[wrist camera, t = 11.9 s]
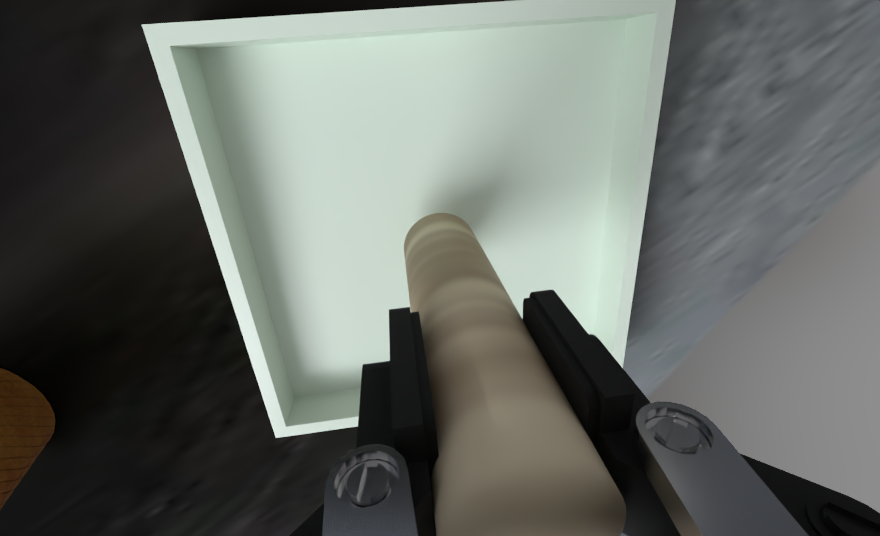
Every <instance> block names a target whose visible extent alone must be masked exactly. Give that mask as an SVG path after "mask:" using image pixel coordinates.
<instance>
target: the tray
mask: <svg viewBox="0 0 880 536" xmlns="http://www.w3.org/2000/svg"><path fill="white" fill-rule="evenodd" d="M675 3H676V0H515V1H500V2H484V3H469V4H454V5H438V6H423V7H407V8H392V9H376V10H361V11H346V12H330V13H315V14H299V15H284V16H268V17H253V18H237V19H222V20H207V21H191V22H176V23H160V24H145V25H142V27H143V30H144V33H145V36H146V39H147V43H148V46H149V49H150V52H151V55H152V58H153V61H154V64H155V67H156V70H157V73H158V76H159V80H160V83H161V86H162V89H163V92H164V95H165V98H166V101H167V104H168V107H169V110H170V113H171V116H172V120H173V123H174V126H175V129H176V132H177V135H178V138H179V141H180V144H181V147H182V150H183V153H184V157H185V160H186V163H187V166H188V169H189V172H190V175H191V178H192V181H193V184H194V187H195V190H196V194H197V197H198V200H199V203H200V206H201V209H202V212H203V215H204V218H205V221H206V224H207V227H208V230H209V234H210V237H211V240H212V243H213V246H214V249H215V252H216V255H217V258H218V261H219V264H220V267H221V271H222V274H223V277H224V280H225V283H226V286H227V289H228V292H229V295H230V298H231V301H232V304H233V308H234V311H235V314H236V317H237V320H238V323H239V326H240V329H241V332H242V335H243V338H244V341H245V344H246V348H247V351H248V354H249V357H250V360H251V363H252V366H253V369H254V372H255V375H256V378H257V381H258V385H259V388H260V391H261V394H262V397H263V400H264V403H265V406H266V409H267V412H268V415H269V418H270V421H271V425H272V428H273V431H274V434H275V437H276V438H279V437H286V436H293V435H300V434H307V433H314V432H321V431H328V430H335V429H342V428H349V427H356V426H358V419H359V405H360V391H361V377H362V366H363V364H370V363H377V362H385V361H390V338H389V309H397V308H405V307H410V300H409V292H408V283H407V274H406V265H405V257H404V242H405V238H406V235H407V233H408V231H409V230H410V228H411V227H412V226H413V225H414V224H415V223H416V222H417V221H418V220H420V219H421V218H423V217H425V216H427V215H431V214H435V213H448V214H453V215H455V216H458V217H459V218H461V219H463V220H464V221H465V222H466V223H467V224H468V225H469V226H470V228H471V229H472V231H473V233H474V234H475V236H476V238H477V240H478V242H479V243H480V245H481V247H482V249H483V250H484V252H485V254H486V256H487V258H488V259H489V261H490V263H491V265H492V266H493V268H494V270H495V272H496V273H497V275H498V277H499V279H500V281H501V282H502V284H503V286H504V288H505V289H506V291H507V293H508V295H509V296H510V298H511V300H512V302H513V304H514V305H515V307H516V309H517V311H518V312H519V314H520V316H521V318H522V319H523V300H524V298H529V296H530V293H531V292H535V291H544V290H554V291H555V292H556V294H557V295H558V296H559V297H560V299H561V300H562V301H563V302H564V304H565V305H566V306H567V308H568V309H569V310H570V311H571V313H572V314H573V315H574V316H575V318H576V319H577V320H578V322H579V323H580V324H581V325H582V327H583V328H584V329H585V331H586V332H587V333H588V334H593V335H595V336H596V337H597V338H598V339H599V340H600V341H601V342H602V343H603V345H604V346H605V347H606V348H607V350H608V351H609V352H610V353H611V355H612V356H613V357H614V358H615V360H616V361H617V362H618V363H619V364H620V366H621V367H622V368H623V362H624V355H625V348H626V341H627V334H628V327H629V320H630V313H631V306H632V300H633V293H634V286H635V279H636V272H637V265H638V258H639V251H640V244H641V238H642V231H643V224H644V217H645V210H646V203H647V196H648V189H649V182H650V176H651V169H652V162H653V155H654V148H655V141H656V134H657V127H658V120H659V114H660V107H661V100H662V93H663V86H664V79H665V72H666V65H667V58H668V51H669V45H670V38H671V31H672V24H673V17H674V10H675ZM410 312H411V309H410Z"/></svg>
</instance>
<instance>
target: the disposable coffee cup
mask: <svg viewBox="0 0 880 536" xmlns="http://www.w3.org/2000/svg"><path fill="white" fill-rule="evenodd" d="M54 430H55V415H54V412H53V410H52V407H51V405H50V403H49V402H48V401H47V399H46V398H45V397H44V395H43V394H42V393H41V392H40V391H39V390H38V389H36V388H35V387H34V386H33V385H32V384H30V383H29V382H27V381H26V380H24V379H22V378H21V377H19V376H18V375H16V374H14V373H12V372H10V371H7V370H5V369H2V368H0V510H1V508H2V507H3V505H4V503H5V502H6V500H8V498H9V497H10V495H11V494H12V492H13V490H14V489H15V487H17V485H18V484H19V482H20V481H21V479H22V478H23V476H24V475H25V474H26V472H27V471H28V469H29V468H30V466H31V465H32V463H33V462H34V461H35V459H36V458H37V457H38V455H39V454H40V452H41V451H42V450H43V448H44V447H45V445H46V444H47V442H48V441H49V440H50V439H51V437H52V435H53V433H54Z"/></svg>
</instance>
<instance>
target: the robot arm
mask: <svg viewBox="0 0 880 536" xmlns="http://www.w3.org/2000/svg"><path fill="white" fill-rule="evenodd" d="M523 321H524V323H525V325H526V327H527V329H528V330H529V332H530V334H531V336H532V337H533V339H534V341H535V343H536V345H537V346H538V348H539V350H540V352H541V353H542V355H543V357H544V359H545V360H546V362H547V364H548V366H549V368H550V369H551V371H552V373H553V375H554V376H555V378H556V380H557V382H558V384H559V385H560V387H561V389H562V391H563V392H564V394H565V396H566V398H567V399H568V401H569V403H570V405H571V407H572V408H573V410H574V412H575V414H576V415H577V417H578V419H579V421H580V423H581V424H582V426H583V428H584V430H585V431H586V433H587V435H588V437H589V438H590V440H591V442H592V443H593V445H594V447H595V449H596V451H597V452H598V454H599V456H600V458H601V459H602V461H603V463H604V465H605V466H606V468H607V470H608V472H609V474H610V475H611V477H612V479H613V481H614V482H615V484H616V486H617V488H618V489H619V491H620V493H621V495H622V497H623V499H624V502H625V505H626V512H627V513H626V522H625V526H624V529H623V531H622V533H621V536H880V513H878V512H877V511H875V510H873V509H872V508H870V507H869V506H867V505H865V504H864V503H861V502H859V501H857V500H855V499H853V498H851V497H849V496H846V495H844V494H841V493H839V492H836V491H833V490H831V489H829V488H826V487H823V486H821V485H818V484H816V483H813V482H811V481H808V480H806V479H803V478H801V477H798V476H795V475H793V474H790V473H788V472H785V471H783V470H780V469H777V468H775V467H772V466H770V465H767V464H765V463H762V462H760V461H757V460H755V459H752V458H750V457H747V456H745V455H742V454H740V453H739V452H738V451H737V450H736V449H735V448H734V446H733V445H732V444H731V443H730V442H729V441H728V439H727V438H726V437H725V436H724V435H723V433H722V432H721V431H720V430H719V429H718V428H717V426H716V425H715V424H714V423H713V422H712V421H710V420H709V419H708V418H707V417H706V416H704V415H703V414H701V413H699V412H698V411H696V410H694V409H692V408H689V407H687V406H684V405H682V404H677V403H672V402H654V403H650V402H649V400H648V399H647V398H646V397H645V395H644V394H643V393H642V392H641V390H640V389H639V388H638V387H637V385H636V384H635V383H634V382H633V381H632V379H631V378H630V377H629V376H628V374H627V373H626V372H625V371H624V369H623V368H622V367H621V366H620V364H619V363H618V362H617V361H616V360H615V358H614V357H613V356H612V355H611V353H610V352H609V351H608V350H607V348H606V347H605V346H604V345H603V343H602V342H601V341H600V340H599V339H598V338H597V337H596V336H595V335H593V334H588V333H587V332H586V331H585V329H584V328H583V327H582V325H581V324H580V323H579V322H578V320H577V319H576V318H575V316H574V315H573V314H572V313H571V311H570V310H569V309H568V308H567V306H566V305H565V304H564V302H563V301H562V300H561V299H560V297H559V296H558V295H557V294H556V292H555V291H554V290H544V291H535V292H531V293H530V296H529V298H524V300H523ZM389 338H390V361H385V362H377V363H370V364H363V366H362V377H361V391H360V405H359V419H358V433H357V447H356V448H355V449H353V450H351V451H349V452H348V453H346V454H344V455H343V456H342V457H341V458H340V459H339V460H338V461H337V462H336V463H335V464H334V465H333V467H332V469H331V470H330V472H329V474H328V476H327V480H326V485H325V497H324V503H323V504H322V505H321V506H320V507H319V508H318V509H317V510H316V511H315V512H314V513H313V514H312V515H311V516H310V517H309V518H308V519H307V520H306V521H305V522H303V523H302V524H301V525H300V526H299V527H298V528H297V529H296V530H295V531H294V532H293V533H292V534H291V535H290V536H436V526H435V518H434V509H433V500H432V492H431V475H432V470H433V468H434V465H435V462H436V460H437V459H438V457H439V452H438V442H437V432H436V424H435V416H434V409H433V402H432V395H431V389H430V382H429V375H428V369H427V362H426V355H425V349H424V342H423V335H422V329H421V322H420V315H419V311H418V312H410V307H405V308H397V309H389Z"/></svg>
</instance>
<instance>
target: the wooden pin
mask: <svg viewBox="0 0 880 536" xmlns="http://www.w3.org/2000/svg"><path fill="white" fill-rule="evenodd" d="M404 257H405V265H406V274H407V283H408V292H409V300H410V309H411V312H418V311H419V315H420V322H421V329H422V335H423V342H424V349H425V355H426V362H427V369H428V375H429V382H430V389H431V395H432V402H433V409H434V416H435V424H436V432H437V442H438V452H439V457H438V459H437V460H436V462H435V465H434V468H433V470H432V475H431V492H432V500H433V509H434V518H435V526H436V535H437V536H621V533H622V531H623V529H624V526H625V522H626V513H627V512H626V505H625V502H624V499H623V497H622V495H621V493H620V491H619V489H618V488H617V486H616V484H615V482H614V481H613V479H612V477H611V475H610V474H609V472H608V470H607V468H606V466H605V465H604V463H603V461H602V459H601V458H600V456H599V454H598V452H597V451H596V449H595V447H594V445H593V443H592V442H591V440H590V438H589V437H588V435H587V433H586V431H585V430H584V428H583V426H582V424H581V423H580V421H579V419H578V417H577V415H576V414H575V412H574V410H573V408H572V407H571V405H570V403H569V401H568V399H567V398H566V396H565V394H564V392H563V391H562V389H561V387H560V385H559V384H558V382H557V380H556V378H555V376H554V375H553V373H552V371H551V369H550V368H549V366H548V364H547V362H546V360H545V359H544V357H543V355H542V353H541V352H540V350H539V348H538V346H537V345H536V343H535V341H534V339H533V337H532V336H531V334H530V332H529V330H528V329H527V327H526V325H525V323H524V321H523V319H522V318H521V316H520V314H519V312H518V311H517V309H516V307H515V305H514V304H513V302H512V300H511V298H510V296H509V295H508V293H507V291H506V289H505V288H504V286H503V284H502V282H501V281H500V279H499V277H498V275H497V273H496V272H495V270H494V268H493V266H492V265H491V263H490V261H489V259H488V258H487V256H486V254H485V252H484V250H483V249H482V247H481V245H480V243H479V242H478V240H477V238H476V236H475V234H474V233H473V231H472V229H471V228H470V226H469V225H468V224H467V223H466V222H465V221H464V220H463V219H461V218H459V217H458V216H455V215H453V214H448V213H435V214H431V215H427V216H425V217H423V218H421V219H420V220H418V221H417V222H416V223H415V224H414V225H413V226H412V227H411V228H410V230H409V231H408V233H407V235H406V238H405V242H404Z"/></svg>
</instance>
